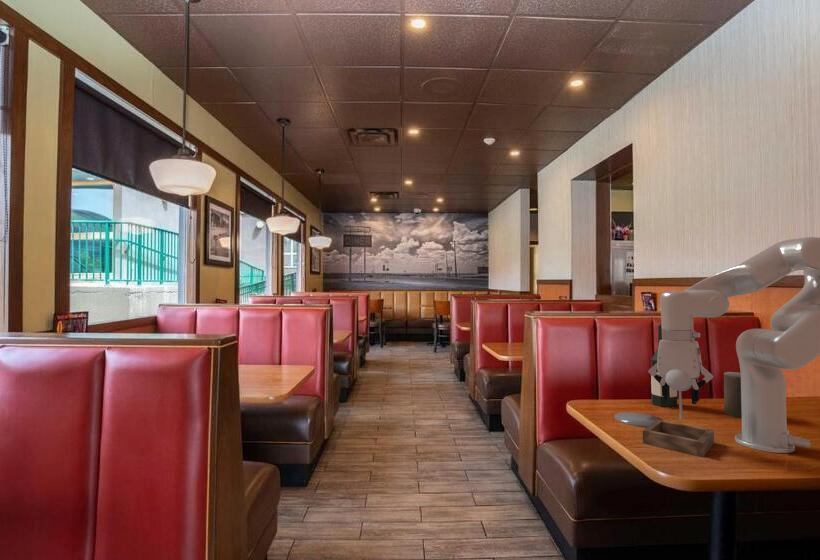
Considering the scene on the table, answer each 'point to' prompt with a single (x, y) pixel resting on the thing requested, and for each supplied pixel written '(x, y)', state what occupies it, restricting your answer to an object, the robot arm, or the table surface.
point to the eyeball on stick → (678, 384)
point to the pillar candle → (732, 394)
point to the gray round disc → (636, 419)
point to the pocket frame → (679, 437)
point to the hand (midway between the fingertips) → (680, 400)
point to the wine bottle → (655, 385)
